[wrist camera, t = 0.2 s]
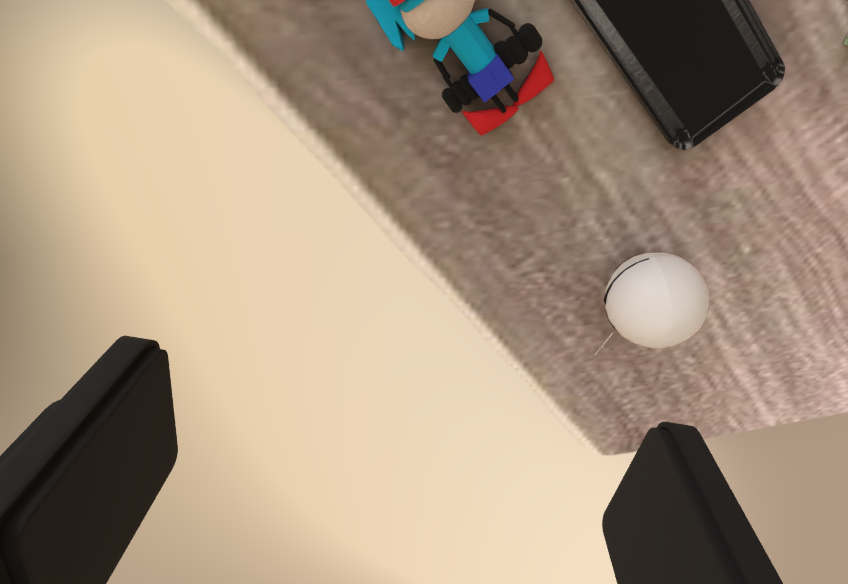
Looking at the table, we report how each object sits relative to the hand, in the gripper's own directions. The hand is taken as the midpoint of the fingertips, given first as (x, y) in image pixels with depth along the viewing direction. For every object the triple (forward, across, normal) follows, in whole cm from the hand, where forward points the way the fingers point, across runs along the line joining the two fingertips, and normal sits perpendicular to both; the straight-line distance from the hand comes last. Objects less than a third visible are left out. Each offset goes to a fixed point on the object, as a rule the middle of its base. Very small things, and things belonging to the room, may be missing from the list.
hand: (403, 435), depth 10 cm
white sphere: (+31, -18, +11) cm, 38 cm away
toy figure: (+31, 0, -6) cm, 32 cm away
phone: (+31, -14, -8) cm, 35 cm away
